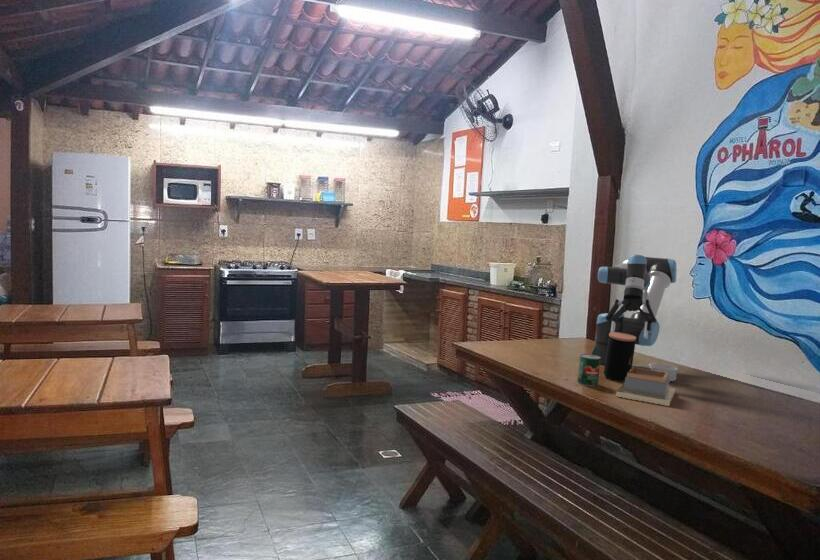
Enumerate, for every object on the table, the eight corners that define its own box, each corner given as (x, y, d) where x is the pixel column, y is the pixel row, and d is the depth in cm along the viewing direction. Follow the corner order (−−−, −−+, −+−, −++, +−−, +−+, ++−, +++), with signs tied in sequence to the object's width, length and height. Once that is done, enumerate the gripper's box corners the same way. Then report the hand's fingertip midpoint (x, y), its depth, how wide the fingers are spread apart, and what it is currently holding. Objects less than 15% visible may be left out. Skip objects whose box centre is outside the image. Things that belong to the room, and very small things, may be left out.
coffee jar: (631, 383, 243) (638, 340, 240) (604, 379, 245) (610, 337, 242) (628, 375, 254) (634, 333, 250) (601, 371, 256) (607, 330, 252)
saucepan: (623, 375, 257) (625, 362, 256) (665, 376, 261) (666, 363, 260) (639, 382, 245) (640, 369, 245) (682, 383, 250) (684, 370, 249)
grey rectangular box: (625, 384, 239) (627, 363, 239) (674, 393, 231) (676, 371, 230) (616, 396, 220) (618, 373, 219) (669, 406, 211) (671, 382, 211)
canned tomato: (589, 387, 232) (592, 359, 231) (573, 382, 238) (575, 354, 237) (602, 385, 237) (604, 357, 236) (585, 380, 243) (588, 353, 242)
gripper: (601, 286, 260) (595, 333, 253) (662, 286, 244) (657, 335, 237) (607, 293, 265) (601, 339, 258) (667, 293, 250) (662, 341, 243)
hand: (628, 337), depth 248 cm, fingers open, 13 cm apart
